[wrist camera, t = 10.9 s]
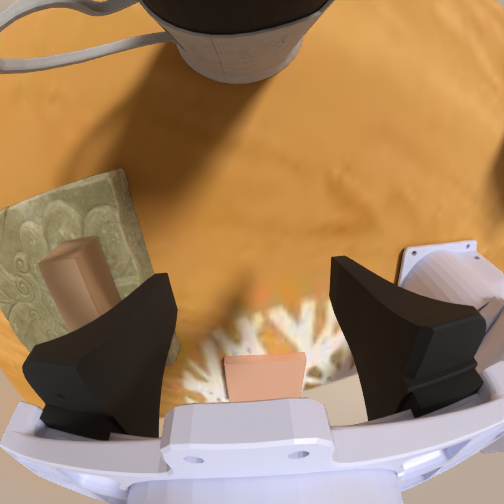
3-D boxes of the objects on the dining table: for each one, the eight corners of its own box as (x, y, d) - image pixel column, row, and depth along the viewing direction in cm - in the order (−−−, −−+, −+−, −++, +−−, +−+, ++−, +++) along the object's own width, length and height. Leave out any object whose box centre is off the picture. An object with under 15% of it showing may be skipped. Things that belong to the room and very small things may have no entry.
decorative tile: (-19, 216, 20) (-39, 230, 17) (127, 162, 19) (107, 172, 16) (46, 350, 28) (35, 369, 25) (186, 349, 28) (181, 376, 24)
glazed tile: (306, 359, 27) (299, 398, 30) (303, 348, 28) (297, 388, 31) (224, 363, 26) (229, 402, 29) (224, 352, 28) (229, 392, 31)
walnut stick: (97, 235, 18) (74, 258, 15) (147, 357, 23) (138, 387, 20) (62, 241, 18) (37, 264, 15) (115, 357, 23) (104, 385, 20)
